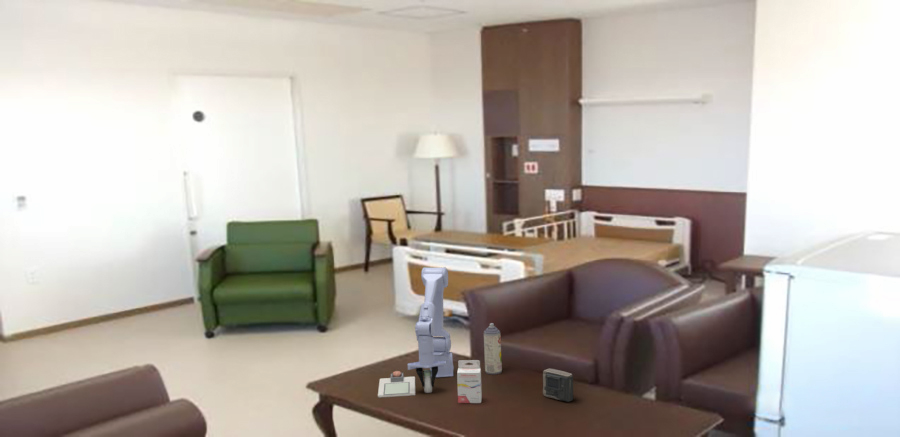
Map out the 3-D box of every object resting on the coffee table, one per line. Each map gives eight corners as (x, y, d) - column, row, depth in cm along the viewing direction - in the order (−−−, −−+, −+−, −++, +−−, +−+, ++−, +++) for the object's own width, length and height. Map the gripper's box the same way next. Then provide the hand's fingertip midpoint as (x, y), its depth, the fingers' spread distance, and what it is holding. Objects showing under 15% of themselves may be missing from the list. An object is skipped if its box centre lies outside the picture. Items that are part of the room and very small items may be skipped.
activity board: (414, 378, 287) (414, 372, 286) (415, 395, 269) (414, 388, 269) (379, 380, 286) (379, 374, 286) (377, 397, 268) (377, 390, 268)
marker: (432, 389, 274) (431, 369, 273) (432, 392, 271) (431, 372, 270) (424, 390, 274) (422, 370, 273) (424, 393, 270) (423, 372, 269)
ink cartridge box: (457, 403, 259) (455, 364, 257) (459, 398, 264) (457, 359, 262) (481, 403, 258) (479, 364, 256) (482, 398, 263) (480, 359, 261)
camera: (576, 399, 258) (575, 372, 256) (567, 404, 254) (566, 377, 252) (550, 392, 266) (549, 366, 264) (540, 397, 261) (540, 370, 260)
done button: (400, 375, 285) (400, 370, 285) (400, 378, 282) (400, 373, 282) (393, 376, 285) (393, 371, 285) (393, 378, 282) (392, 373, 282)
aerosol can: (503, 373, 287) (501, 325, 284) (486, 375, 287) (484, 326, 284) (500, 368, 294) (498, 320, 291) (484, 369, 293) (482, 322, 291)
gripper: (406, 356, 266) (408, 391, 268) (445, 353, 266) (447, 388, 268) (407, 350, 273) (408, 384, 275) (444, 348, 273) (446, 382, 275)
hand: (428, 386), depth 272 cm, fingers open, 3 cm apart
